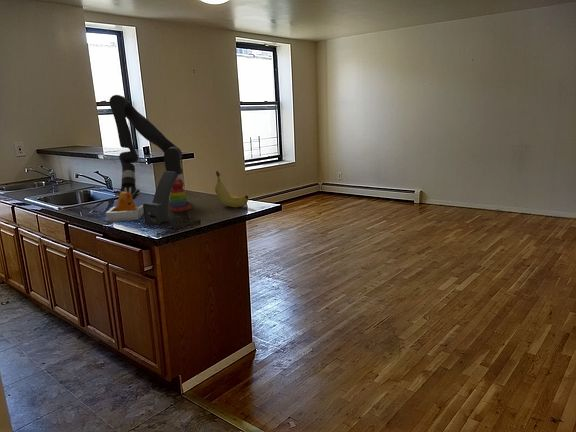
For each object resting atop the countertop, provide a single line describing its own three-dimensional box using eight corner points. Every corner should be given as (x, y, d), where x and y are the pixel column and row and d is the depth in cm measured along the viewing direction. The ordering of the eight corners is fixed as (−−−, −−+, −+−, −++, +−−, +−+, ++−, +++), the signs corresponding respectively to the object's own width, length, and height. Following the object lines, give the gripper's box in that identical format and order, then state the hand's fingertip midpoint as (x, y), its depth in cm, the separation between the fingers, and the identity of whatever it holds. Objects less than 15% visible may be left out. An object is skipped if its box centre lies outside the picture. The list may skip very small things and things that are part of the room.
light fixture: (184, 217, 231) (180, 171, 225) (158, 225, 217) (153, 176, 211) (170, 215, 236) (165, 170, 231) (144, 222, 222) (138, 175, 217)
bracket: (144, 213, 243) (143, 205, 242) (138, 219, 229) (137, 211, 228) (114, 214, 242) (113, 206, 240) (106, 221, 228) (105, 213, 227)
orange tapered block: (123, 216, 237) (120, 194, 234) (116, 214, 242) (113, 193, 239) (141, 212, 245) (138, 191, 242) (134, 210, 250) (132, 189, 247)
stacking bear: (192, 208, 251) (190, 177, 247) (183, 212, 242) (180, 180, 238) (176, 207, 255) (173, 177, 250) (166, 211, 245) (163, 179, 241)
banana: (251, 207, 249) (249, 172, 244) (245, 209, 244) (243, 173, 239) (220, 203, 260) (218, 170, 255) (214, 205, 255) (211, 171, 251)
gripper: (115, 176, 249) (114, 202, 240) (139, 175, 251) (139, 200, 243) (117, 184, 255) (117, 209, 246) (141, 182, 258) (141, 207, 249)
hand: (128, 205), depth 245 cm, fingers closed
